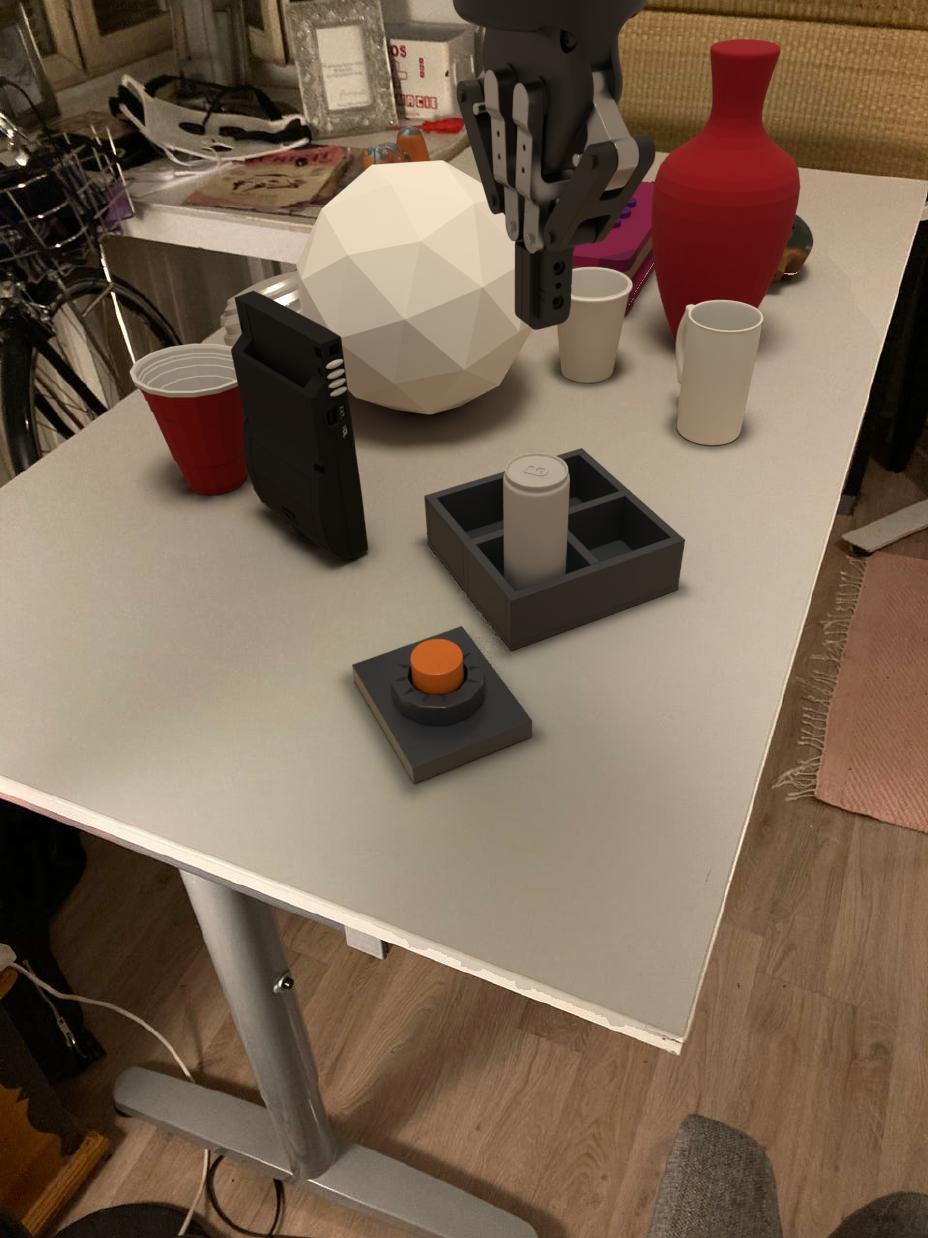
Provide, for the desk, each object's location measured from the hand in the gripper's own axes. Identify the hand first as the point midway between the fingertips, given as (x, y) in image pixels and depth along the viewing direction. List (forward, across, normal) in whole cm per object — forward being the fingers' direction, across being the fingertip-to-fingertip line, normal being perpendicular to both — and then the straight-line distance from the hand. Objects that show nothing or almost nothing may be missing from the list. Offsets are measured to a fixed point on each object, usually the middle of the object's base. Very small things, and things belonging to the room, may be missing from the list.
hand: (542, 320), depth 46 cm
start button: (+28, -7, -4) cm, 29 cm away
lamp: (+31, -52, +10) cm, 61 cm away
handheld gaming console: (+31, -31, -5) cm, 44 cm away
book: (+31, -71, +46) cm, 90 cm away
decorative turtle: (+31, -56, +66) cm, 92 cm away
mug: (+31, -30, +36) cm, 56 cm away
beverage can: (+30, -13, +8) cm, 34 cm away
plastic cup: (+31, -44, -10) cm, 55 cm away
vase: (+31, -44, +47) cm, 72 cm away
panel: (+31, -6, -4) cm, 32 cm away
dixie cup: (+31, -45, +32) cm, 63 cm away
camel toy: (+31, -84, +28) cm, 94 cm away
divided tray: (+31, -17, +11) cm, 37 cm away
